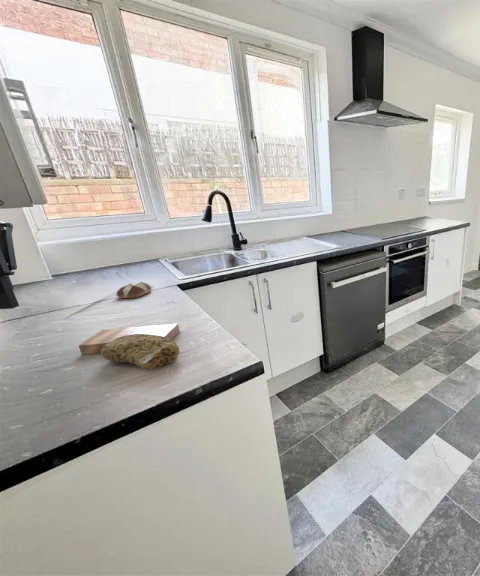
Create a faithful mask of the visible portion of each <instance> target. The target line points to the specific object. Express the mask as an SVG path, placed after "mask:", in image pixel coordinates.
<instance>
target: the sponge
mask: <svg viewBox="0 0 480 576" xmlns="http://www.w3.org/2000/svg"><path fill="white" fill-rule="evenodd" d="M100 354H101V356H102V357H103V358H104V359H105V360H108V361H110V362H113V363H114V362H115V363H122V364H123V363H130V364H134V365H135V366H137V367H139V368H141V369H144V370H150V371H152V370H155V369H158V368H161V367H163V366H164V365H168V364H169V365H171V364H173V363H175V362H176V361H177V360H178V359H179V354H180V347H179V346H178V345H177V343H176V342H175V341H173V339H172V340H170V339H168V338H165V337H163V336H158V335H149V334H132V335H126V336H122V337H119V338H116V339H114V340H113V341H111V342H109V343H108V344H106V345H104V347H103V348H102V349H101V353H100Z"/></svg>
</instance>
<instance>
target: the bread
mask: <svg viewBox="0 0 480 576" xmlns="http://www.w3.org/2000/svg"><path fill="white" fill-rule="evenodd" d="M151 291H152V287H151V285H150V284H148V283H146V282H143V281H141V282H131V283H128V284H126V285H124V286H122V287H120V288H118V289H117V291H116V296H117V297H118V298H120V299H136V298H139V296H140V297H142V296H144V295H146V294H148V293H150V292H151ZM135 297H136V298H135Z"/></svg>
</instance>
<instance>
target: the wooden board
mask: <svg viewBox="0 0 480 576" xmlns="http://www.w3.org/2000/svg"><path fill="white" fill-rule="evenodd" d="M180 332H181V331H180V326H179V323H168V324H156V325H155V324H154V325H144V326H143V325H142V326H133V327H132V326H129V327H119V328H118V327H117V328H106V329H105V328H104V329H101V330H99V331H98V332H96V333H95V334H93V335H91V336H90V337H89V338H87V339H86V340H84V341H83V342H81V343H80V344H78V345H77V346H78V348H79V351H80V354H81V355H92V354H101V349H102V348H103V347H104V345H106V344H108V343H109V342H111V341H113V340H114V339H116V338H119V337H122V336H126V335H132V334H149V335H158V336H163V337H165V338H168V339H170V340H172V341H173V340H174V339H175V337H177V335H179V334H180Z"/></svg>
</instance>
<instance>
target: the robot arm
mask: <svg viewBox="0 0 480 576" xmlns="http://www.w3.org/2000/svg"><path fill="white" fill-rule="evenodd" d="M13 229H14V224H13V223H12V222H3V221H1V220H0V310H11V309H15V308H18V307H20V304H19V302H18V299H17V297H16V294H15V292H14V285H13V282H12V280H11V277H10V276H14V275H15V274H16V272H15V271H16V270H17V269H18V264H17V259H16V252H15V246H14V239H13Z"/></svg>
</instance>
